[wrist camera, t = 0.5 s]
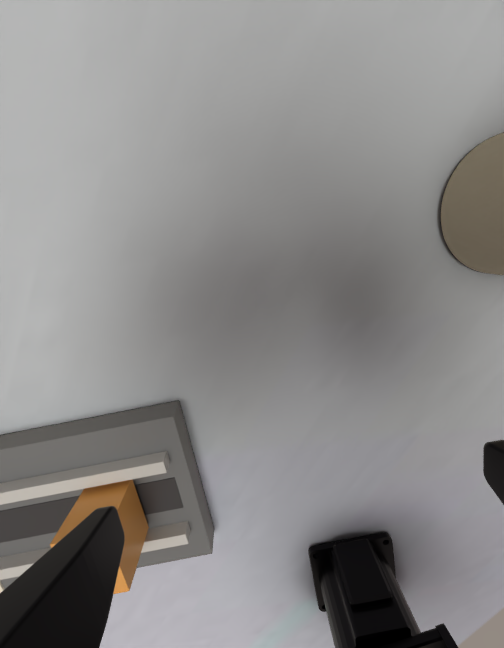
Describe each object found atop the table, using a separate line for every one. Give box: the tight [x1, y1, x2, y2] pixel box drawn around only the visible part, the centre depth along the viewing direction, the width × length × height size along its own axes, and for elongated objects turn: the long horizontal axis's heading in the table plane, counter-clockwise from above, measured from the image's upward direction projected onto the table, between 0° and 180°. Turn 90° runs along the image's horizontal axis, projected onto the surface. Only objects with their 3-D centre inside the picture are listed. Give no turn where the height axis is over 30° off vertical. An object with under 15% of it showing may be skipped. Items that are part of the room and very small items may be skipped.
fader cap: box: [50, 480, 149, 594], centre depth 19 cm, size 4×3×5 cm
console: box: [0, 401, 214, 593], centre depth 22 cm, size 12×22×3 cm, turn 101°
